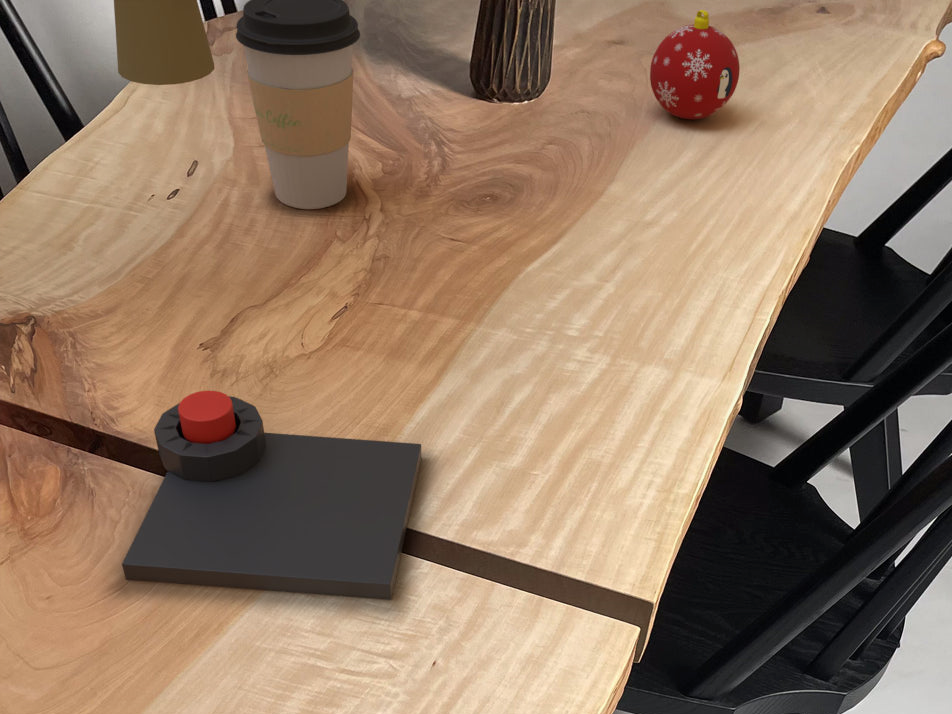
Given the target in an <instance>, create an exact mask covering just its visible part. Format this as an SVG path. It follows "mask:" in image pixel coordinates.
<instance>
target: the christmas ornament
mask: <svg viewBox="0 0 952 714" xmlns="http://www.w3.org/2000/svg"><path fill="white" fill-rule="evenodd" d="M702 14H703V15H702ZM709 16H710V15H709V12H708V11H707V10H704V9H699V10H698V11H697V12H696V17H695V18H694V21H693V24H687V25H684V26H681V27H678V28H677V29H675V30H673V31H672V32H670V33H669V34H668V35H667V36H665V37H664V38H663V39H662V41H661V42H660V43H659V44H658V46H657V48H656V50H655V52H654V53H653V55H652V59H651V63H650V67H649V80H650V87H651V90H652V93H653V95H654V97H655V99H656V101H657V102H658V103H659V105H660V106H661V107H662V108H663V109H664V111H666V112H668V113H669V114H671V115H672V116H675V117H678V118H680V119H684V120H701V119H704V118H708V117H710V116H712V115H714V114H716V113H718V111H720V110H721V109H723V108H724V106H726V105H727V103H728V102H729V101H730V100H731V98H732V96H733V95H734V93H735V91H736V88H737V86H738V83H739V79H740V59H739V55H738V51H737V49H736V47H735V46H734V43H732V41H731V39H730V38H729V37H728V36H727V35H726V34H725V33H724V32H722V31H721V30H719V29H718V28H715V27H714V26H711V25H709V24H710V18H709Z"/></svg>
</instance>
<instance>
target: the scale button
mask: <svg viewBox="0 0 952 714" xmlns="http://www.w3.org/2000/svg"><path fill="white" fill-rule="evenodd" d="M179 403H180V404H179ZM179 403H178V404H179V406H178V412H179V417H180V422H181V427H182V432H183V435H184V437H185V438H186V439H187V440H188V441H189V442H191V443H201V444H210V443H214V442H219V441H223V440H226V439H227V438H229V437H230V436H232V435H233V434H234V432H235V429H236V423H235V417H234V410H233V404H232V400H231V399H230V398H229V395H228V394H226V393H224V392H221V391H217V390H201V391H200V390H199V391H197V392H193V393H191V394H189V395H187V396H185V397H183V398H182V399H181V400H180V401H179Z"/></svg>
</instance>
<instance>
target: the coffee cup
mask: <svg viewBox="0 0 952 714" xmlns="http://www.w3.org/2000/svg"><path fill="white" fill-rule="evenodd" d="M360 38H361V32H360V30H359V22H358V20H357V19H356V18H355V17H354V16H352V14H350V9H349V6H348V4H347V3H346V1H344V0H248V1H247V2H246V3H245V4H244V5H243V9H242V16H241V17H240V18H239V19H238V21H237V22H236V33H235V39H236V40H237V42H238V43H239V44H241V45H242V46H243V51H244V56H245V61H246V65H247V72H246V73H247V79H248V84H249V89H250V93H251V98H252V102H253V107H254V112H255V116H256V120H257V121H256V122H257V125H258V129H259V135H260V139H261V142H262V144H263V146H264V149H265V153H266V158H267V162H268V166H269V172H270V176H271V181H272V185H273V190H274V194H275V195H274V196H275V197H276V198H277V200H278V201H279V202H280V203H282V204H284V205H285V206H288V207H291V208H295V209H299V210H300V209H301V210H318V209H324V208H327V207H332V206H333V205H337V204H338V203H340V202H341V201H342V200H344V198H345V197H346V195H347V187H348V168H349V167H348V165H349V147H350V146H349V144H350V141H351V137H352V117H353V116H352V115H353V96H354V95H353V93H354V69H353V46H354V45H353V44H355V43H356V42H357V41H359V39H360Z"/></svg>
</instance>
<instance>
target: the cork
mask: <svg viewBox="0 0 952 714" xmlns="http://www.w3.org/2000/svg"><path fill="white" fill-rule="evenodd" d="M113 11H114V12H113V13H114V25H115V41H116V42H115V43H116V57H117V59H116V60H117V70H118V71H117V73H118V74H119V76H120V77H121V78H123V79H125V80H128V81H129V82H133V83H137V84H142V85H149V86H150V85H152V86H165V85H166V86H168V85H169V86H172V85H180V84H186V83H191V82H194V81H198V80H201V79H203V78H205V77H207V76H209V75H211V74H212V72H213V71H214V70H215V62H214V58H213V54H212V50H211V46H210V43H209V40H208V39H209V38H208V36H207V32H206V28H205V25H204V21H203V17H202V13H201V10H200V6H199V2H198V0H113Z"/></svg>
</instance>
